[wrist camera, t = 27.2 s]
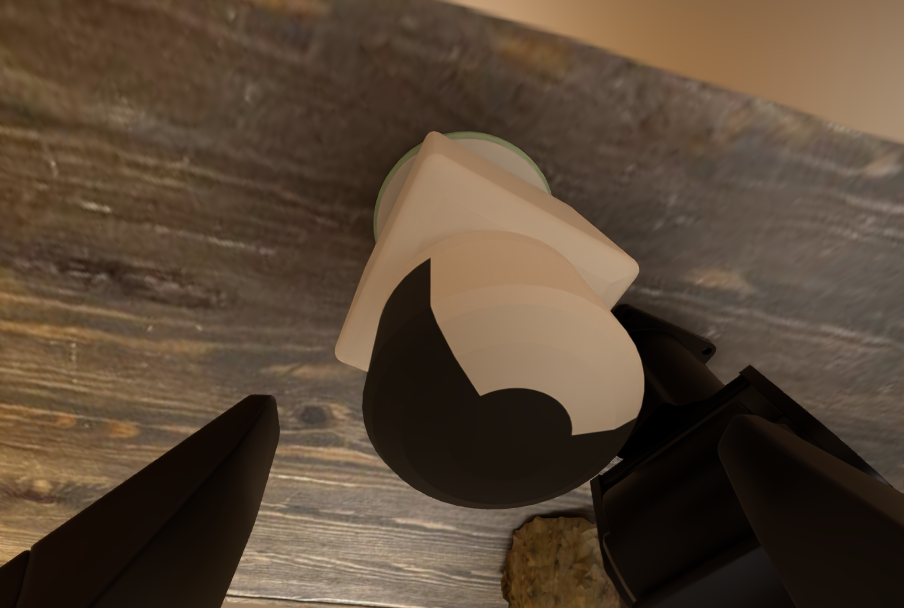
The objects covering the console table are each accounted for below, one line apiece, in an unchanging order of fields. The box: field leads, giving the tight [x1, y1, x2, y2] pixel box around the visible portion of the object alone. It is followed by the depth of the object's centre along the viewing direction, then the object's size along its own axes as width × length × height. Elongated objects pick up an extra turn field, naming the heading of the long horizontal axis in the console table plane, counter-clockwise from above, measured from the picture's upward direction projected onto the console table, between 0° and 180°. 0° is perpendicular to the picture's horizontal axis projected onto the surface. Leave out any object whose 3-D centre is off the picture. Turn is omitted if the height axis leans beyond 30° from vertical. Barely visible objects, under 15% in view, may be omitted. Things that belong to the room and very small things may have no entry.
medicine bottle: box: [335, 131, 644, 509], centre depth 14 cm, size 7×7×12 cm
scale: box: [373, 131, 552, 243], centre depth 19 cm, size 8×9×1 cm
